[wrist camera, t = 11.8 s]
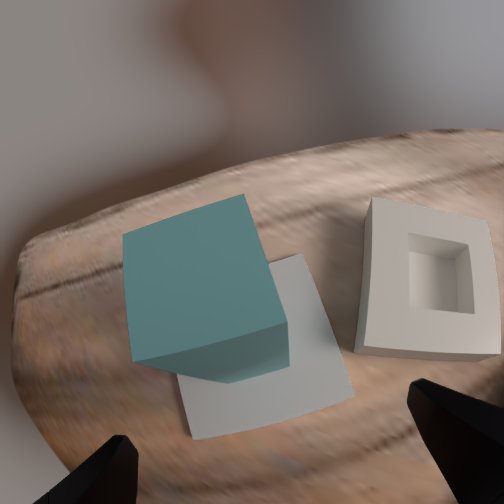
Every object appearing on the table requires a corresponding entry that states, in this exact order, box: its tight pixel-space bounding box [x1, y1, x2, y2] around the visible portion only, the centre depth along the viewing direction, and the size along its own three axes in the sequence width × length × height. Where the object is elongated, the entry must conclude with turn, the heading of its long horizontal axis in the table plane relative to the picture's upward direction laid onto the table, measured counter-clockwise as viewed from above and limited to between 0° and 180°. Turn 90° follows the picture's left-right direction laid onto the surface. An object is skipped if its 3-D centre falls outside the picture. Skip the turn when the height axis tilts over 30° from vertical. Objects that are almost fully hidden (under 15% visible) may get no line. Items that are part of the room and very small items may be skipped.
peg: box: [123, 194, 290, 384], centre depth 13 cm, size 4×4×12 cm
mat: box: [177, 253, 356, 440], centre depth 18 cm, size 11×11×1 cm
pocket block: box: [353, 197, 501, 361], centre depth 17 cm, size 11×11×3 cm
